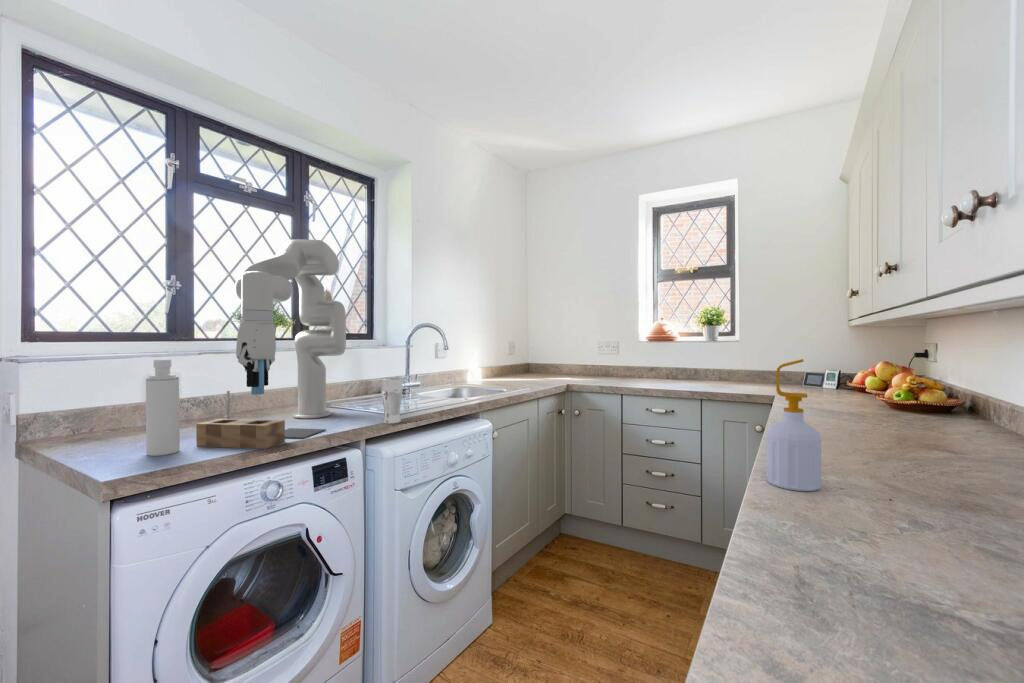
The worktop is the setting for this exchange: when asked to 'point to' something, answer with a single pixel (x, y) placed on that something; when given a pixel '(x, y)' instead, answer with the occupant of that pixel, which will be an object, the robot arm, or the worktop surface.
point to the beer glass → (391, 399)
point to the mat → (301, 433)
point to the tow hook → (227, 406)
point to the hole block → (240, 433)
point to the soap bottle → (793, 447)
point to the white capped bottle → (162, 410)
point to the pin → (261, 379)
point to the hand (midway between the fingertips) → (257, 385)
